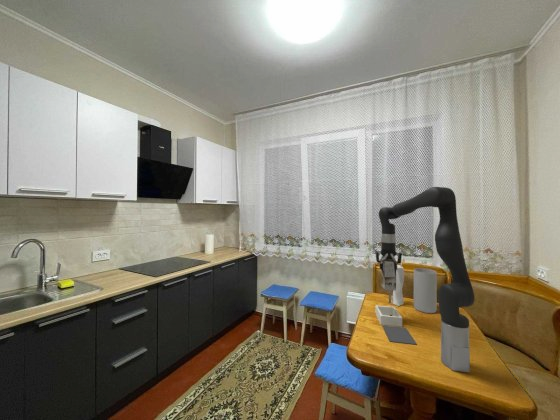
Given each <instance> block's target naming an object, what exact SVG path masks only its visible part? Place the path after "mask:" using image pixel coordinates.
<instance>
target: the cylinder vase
mask: <svg viewBox="0 0 560 420" xmlns="http://www.w3.org/2000/svg"><path fill="white" fill-rule="evenodd" d="M437 275H438V273H437V271H436V270H433V269H430V268H423V267H417V268H413V308H414V309H415V310H416V311H419V312H420V313H425V314H426V313H427V314H434V313H436V312H437V309H438V308H437V306H438V305H437V304H438V303H437V300H438V299H437V298H438V292H437V291H438V290H437V288H438V287H437V286H438V285H437V284H438V282H437V281H438V276H437Z"/></svg>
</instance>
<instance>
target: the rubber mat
mask: <svg viewBox="0 0 560 420" xmlns="http://www.w3.org/2000/svg"><path fill="white" fill-rule="evenodd" d="M381 326H382V329H383V331H384V333H385V335H386V336H387V339H388V341H389V342H390V343H398V344H405V345H415V346H417V345H418V342H416V340H415V339H414V337H413V336H412V334H411V333H410V331H409V330H408V328H407V327H403V326H402V327H398V326H388V325H381Z"/></svg>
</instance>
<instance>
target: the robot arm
mask: <svg viewBox="0 0 560 420" xmlns="http://www.w3.org/2000/svg"><path fill="white" fill-rule="evenodd" d="M456 199H457V197H456V194H455V192H454V190H453V189H452V188H450V187H443V186H433V187H430V188H427V189H425V190H423V191H421V192H420V193H418V194H417V195H415V196H413V197H411V198H409V199H406V200H404V201H401V202H398V203H396V204H394V205H393V206H391V207H388V206H387V207H385V206H383V207H381V208H380V209H379V211H378V218H379V221H380V226H381V236H380V243H381V244H380V245H381V246H380V248H381V249H380V251H374V252H375V261H376V262H377V263H379V268H380V269H379V270H380V271H381V270H383V264H382V263H383V260H385V259H392V260H393V261H396V270H397V265H399V264H401V263H402V252H397V251H396V250H397V248H396V245H397V244H396V243H397V241H396V239H397V238H396V225H395V224H394V223H391V222H390V220H396V219H398V218H400V217H402V216H406V215H410V214H411V213H414V212H415V211H416V210H418V209H421V208H428V207H429V208H430V207H431V208H437V209H438V212H439V222H438V225H437V228H436V231H435V234H434V243H435V248H436V249H435V250H436V252H437V255H438V257H440V259H441V260H442V262H443V263H444V264H445V265H446V267H447V268H448V270H449V272H450V276H451V280H452V283H443V284H441V285H440V286H439V288H438V290H437V291H438V292H437V298H438V299H437V300H438V311H439V312H438V313H439V314H440V361H441V363H442V364H443V365H444V366H446V367H447V368H448V369H451V371H453V372H454V371H455V372H461V373H462V372H463V373H470V372H471V371H470V368H471V367H470V364H471V363H470V362H471V356H470V355H471V353H470V352H471V349H470V320H469V318H468V317H467V316H466V315H464V314H462V313H460V308H466V307H471V306H473V305H474V302H475V292H474V289H473V285H472V283H471V280H470V277H469V276H470V275H469V273H468V269H467V264H466V260H465V255H464V249H463V244H462V237H461V234H460V228H459V221H458V214H457V213H458V211H457V200H456ZM380 255H381V258H380ZM396 256H397V260H396Z"/></svg>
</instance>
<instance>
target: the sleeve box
mask: <svg viewBox="0 0 560 420" xmlns="http://www.w3.org/2000/svg"><path fill="white" fill-rule="evenodd" d="M374 307H375V309H374V310H375V312H374V313H376V314H375V315H376V318H377V319H378V323H379V325H381V326H382V325H383V326H393V327H402V328H403V317H402V315H401V314H400V312H399V311H398V309H397V307H396V306H388V305H386V306H385V305H376V304H375V306H374ZM390 315H392V316H390Z"/></svg>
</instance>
